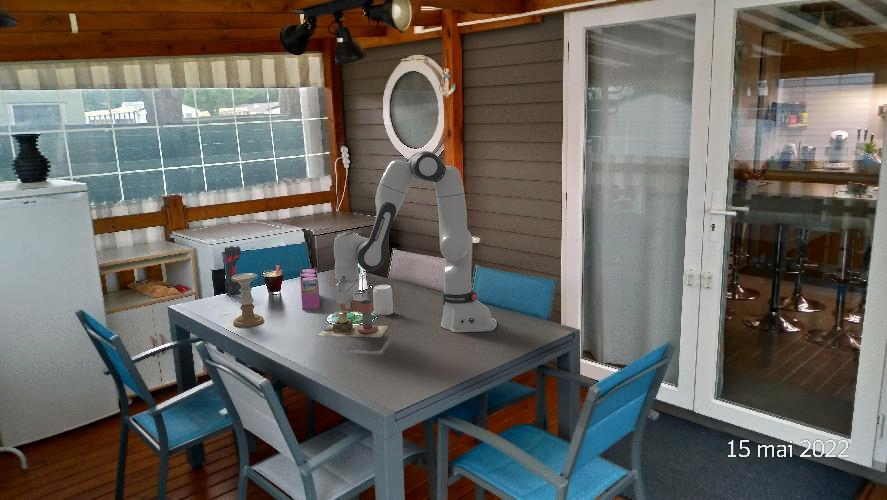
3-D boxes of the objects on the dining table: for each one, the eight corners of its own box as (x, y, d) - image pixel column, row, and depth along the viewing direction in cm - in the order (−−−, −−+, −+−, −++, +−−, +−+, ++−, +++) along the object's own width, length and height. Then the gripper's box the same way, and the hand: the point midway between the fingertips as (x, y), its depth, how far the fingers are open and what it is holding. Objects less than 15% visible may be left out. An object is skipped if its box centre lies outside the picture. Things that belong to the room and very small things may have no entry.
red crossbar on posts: (381, 327, 253) (380, 298, 250) (371, 334, 246) (370, 304, 243) (348, 323, 259) (346, 295, 256) (337, 330, 251) (335, 301, 249)
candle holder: (269, 322, 269) (265, 275, 264) (243, 329, 260) (238, 281, 256) (254, 316, 277) (249, 270, 273) (227, 323, 268) (222, 276, 264)
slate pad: (336, 327, 255) (336, 327, 255) (332, 331, 251) (332, 330, 251) (325, 327, 256) (325, 326, 256) (321, 331, 252) (321, 330, 251)
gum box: (301, 295, 307) (299, 268, 304) (318, 294, 309) (316, 266, 306) (302, 310, 284) (300, 280, 281) (320, 308, 286) (318, 278, 283)
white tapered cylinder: (390, 317, 271) (388, 289, 268) (371, 316, 272) (370, 289, 270) (395, 311, 278) (394, 284, 276) (377, 310, 280) (376, 284, 277)
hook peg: (348, 328, 254) (347, 311, 252) (346, 331, 251) (345, 314, 249) (340, 328, 254) (339, 311, 252) (338, 331, 251) (337, 314, 249)
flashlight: (248, 292, 315) (243, 246, 310) (235, 296, 309) (230, 249, 304) (237, 290, 319) (232, 245, 314) (224, 294, 313) (219, 248, 308)
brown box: (352, 327, 255) (352, 320, 254) (348, 332, 249) (347, 325, 248) (338, 327, 256) (337, 320, 255) (333, 332, 250) (332, 324, 249)
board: (389, 328, 256) (388, 325, 255) (380, 340, 243) (380, 336, 243) (328, 327, 260) (328, 323, 259) (317, 338, 247) (317, 334, 247)
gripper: (347, 280, 236) (348, 316, 239) (361, 267, 256) (362, 301, 259) (330, 280, 237) (332, 316, 240) (346, 267, 257) (347, 300, 259)
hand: (348, 308), depth 249 cm, fingers closed
